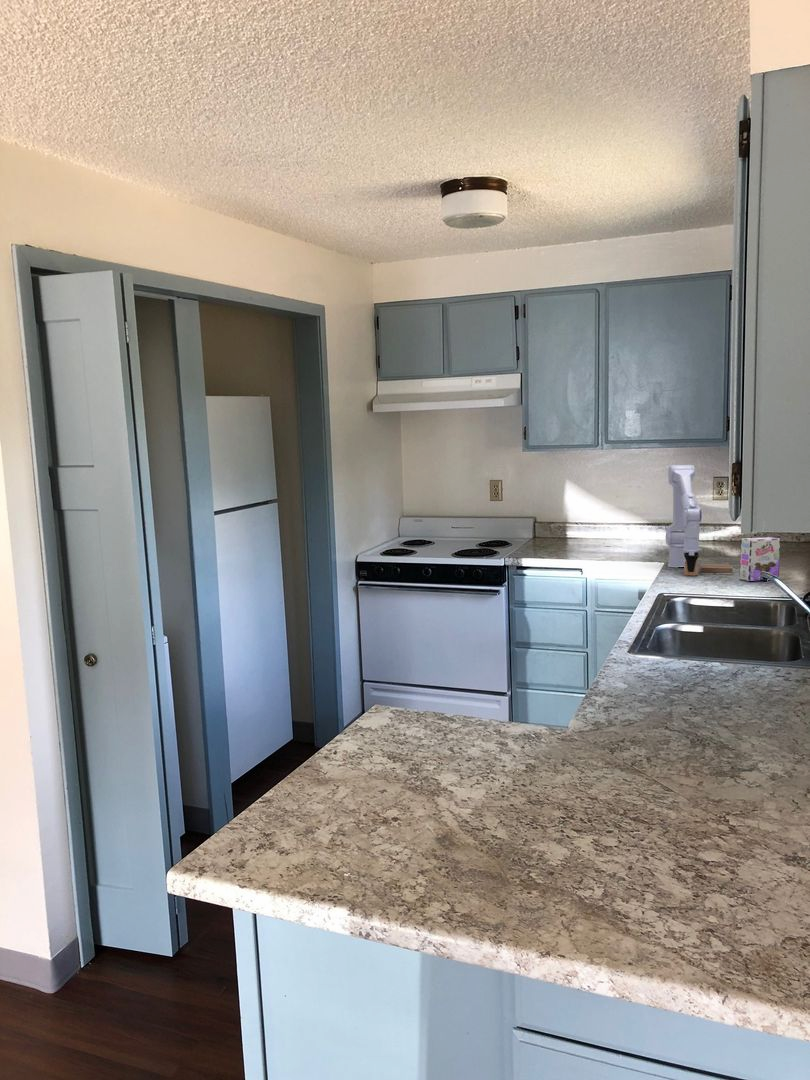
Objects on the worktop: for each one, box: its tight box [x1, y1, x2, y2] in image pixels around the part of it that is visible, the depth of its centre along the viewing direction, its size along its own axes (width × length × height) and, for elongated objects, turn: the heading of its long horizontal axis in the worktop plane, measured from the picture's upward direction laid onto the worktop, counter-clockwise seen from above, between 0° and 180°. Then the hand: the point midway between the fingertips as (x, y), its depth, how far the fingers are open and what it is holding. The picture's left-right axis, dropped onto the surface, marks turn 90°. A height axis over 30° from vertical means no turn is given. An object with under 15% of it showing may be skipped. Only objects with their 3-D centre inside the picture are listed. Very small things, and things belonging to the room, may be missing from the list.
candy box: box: [739, 536, 781, 582], centre depth 323 cm, size 14×6×16 cm, turn 105°
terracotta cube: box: [683, 561, 699, 576], centre depth 339 cm, size 5×5×5 cm
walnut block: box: [699, 563, 733, 574], centre depth 345 cm, size 12×12×3 cm
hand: (690, 570), depth 339 cm, fingers closed on terracotta cube, 5 cm apart
